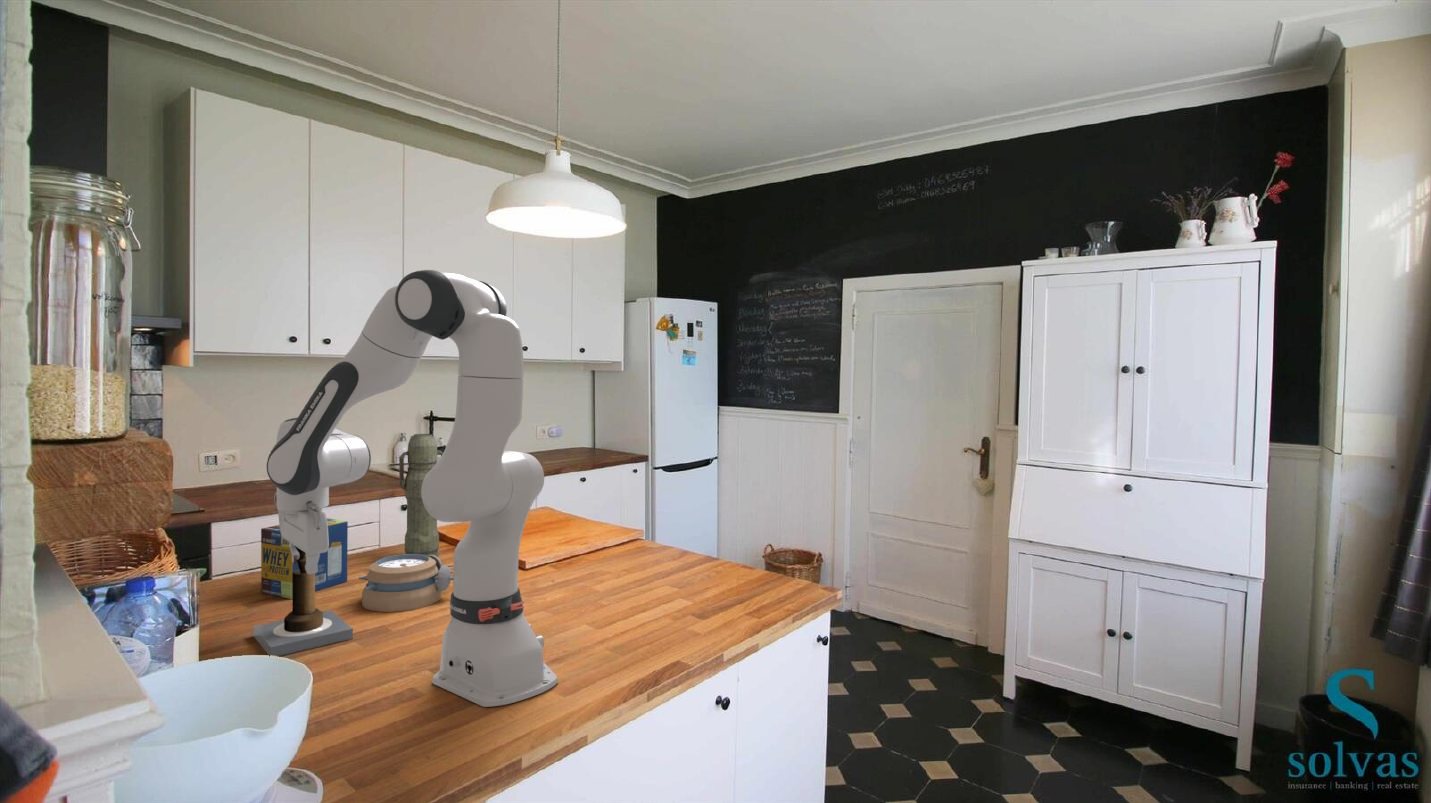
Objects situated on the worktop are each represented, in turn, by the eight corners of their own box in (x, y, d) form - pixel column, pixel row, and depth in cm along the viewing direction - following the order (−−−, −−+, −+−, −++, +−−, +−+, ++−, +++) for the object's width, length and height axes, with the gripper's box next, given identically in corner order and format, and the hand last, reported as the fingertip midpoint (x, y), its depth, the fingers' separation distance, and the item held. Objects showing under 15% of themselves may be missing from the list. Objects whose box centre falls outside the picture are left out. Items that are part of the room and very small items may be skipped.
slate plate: (352, 638, 137) (352, 627, 137) (270, 658, 127) (270, 646, 127) (331, 619, 147) (331, 609, 147) (253, 636, 137) (253, 625, 137)
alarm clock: (356, 556, 163) (457, 544, 176) (356, 595, 163) (457, 580, 176) (367, 575, 149) (477, 560, 162) (367, 617, 149) (476, 599, 162)
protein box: (259, 593, 162) (259, 528, 162) (318, 576, 177) (318, 516, 176) (291, 600, 159) (291, 533, 158) (348, 581, 173) (349, 520, 172)
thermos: (395, 557, 195) (395, 434, 194) (438, 551, 202) (439, 432, 201) (403, 565, 188) (404, 436, 187) (448, 558, 195) (448, 435, 194)
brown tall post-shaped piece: (318, 618, 142) (318, 531, 141) (327, 627, 137) (327, 537, 136) (280, 625, 137) (280, 536, 136) (288, 635, 133) (288, 542, 132)
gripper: (337, 503, 131) (338, 576, 131) (306, 490, 145) (307, 555, 146) (299, 508, 126) (300, 582, 127) (272, 494, 141) (273, 561, 142)
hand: (304, 568), depth 137 cm, fingers open, 8 cm apart
